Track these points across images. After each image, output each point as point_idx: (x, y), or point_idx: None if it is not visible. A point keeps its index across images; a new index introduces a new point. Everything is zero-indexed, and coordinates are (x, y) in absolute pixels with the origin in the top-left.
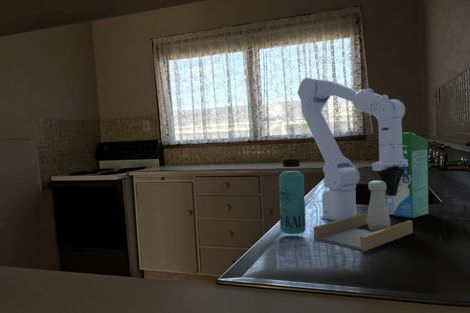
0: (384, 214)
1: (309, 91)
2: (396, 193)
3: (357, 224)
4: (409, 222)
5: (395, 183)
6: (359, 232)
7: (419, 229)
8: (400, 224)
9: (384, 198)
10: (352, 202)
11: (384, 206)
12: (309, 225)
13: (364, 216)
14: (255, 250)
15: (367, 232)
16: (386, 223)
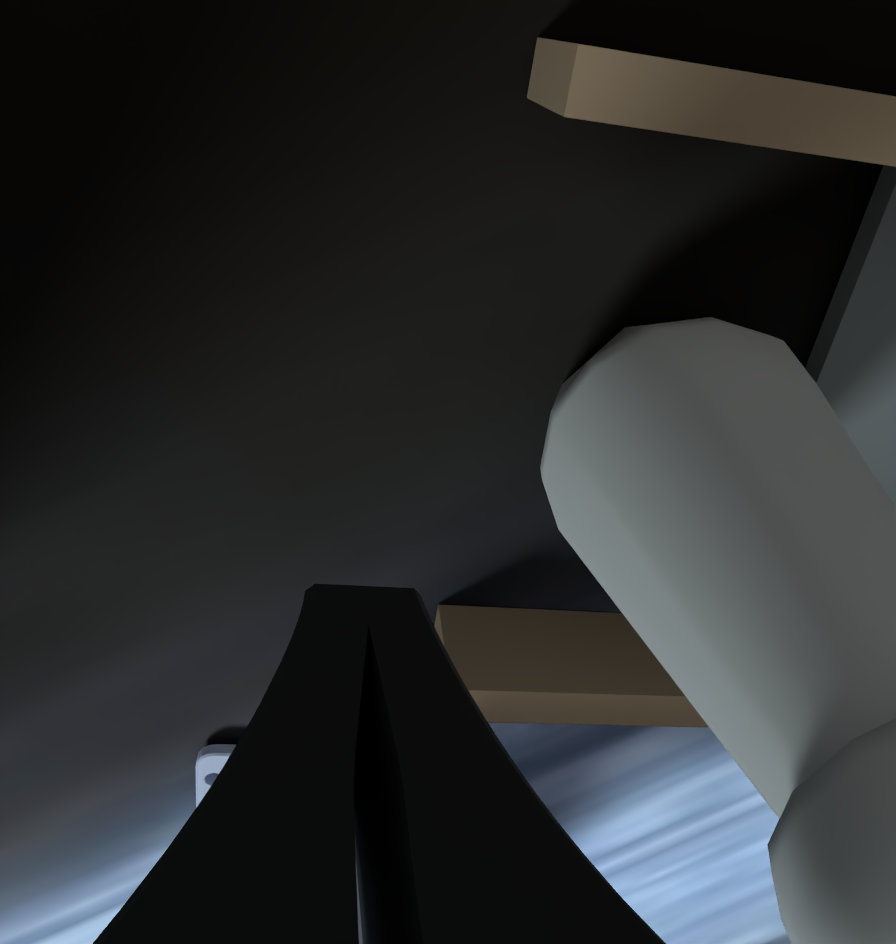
0: (821, 410)
1: None
2: (324, 602)
3: (603, 631)
4: (670, 60)
5: (476, 787)
6: (883, 489)
7: (288, 25)
8: (888, 118)
9: (863, 577)
10: (361, 936)
11: (842, 481)
12: (706, 867)
13: (484, 672)
14: None
15: (862, 432)
16: (766, 336)
